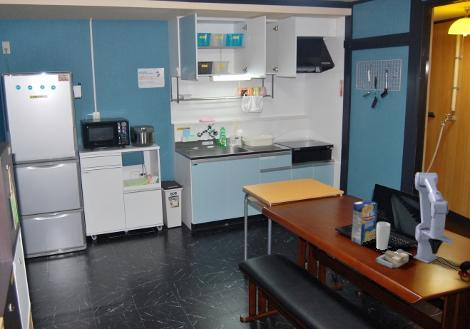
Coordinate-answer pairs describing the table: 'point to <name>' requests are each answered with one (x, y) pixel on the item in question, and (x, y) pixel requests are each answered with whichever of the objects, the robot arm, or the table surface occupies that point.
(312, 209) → the table surface
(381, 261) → the bracket
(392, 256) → the t block
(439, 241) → the robot arm
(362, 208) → the beverage box
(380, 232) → the drinking glass
